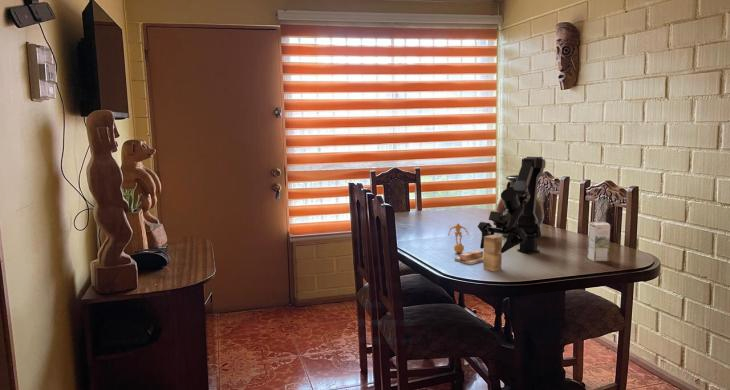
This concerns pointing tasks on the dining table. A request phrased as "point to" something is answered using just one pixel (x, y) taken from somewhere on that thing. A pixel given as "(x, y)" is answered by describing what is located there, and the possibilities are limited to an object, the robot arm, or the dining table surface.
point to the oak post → (492, 252)
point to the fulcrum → (471, 257)
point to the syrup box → (598, 241)
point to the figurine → (458, 246)
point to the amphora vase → (538, 210)
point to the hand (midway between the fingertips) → (491, 250)
